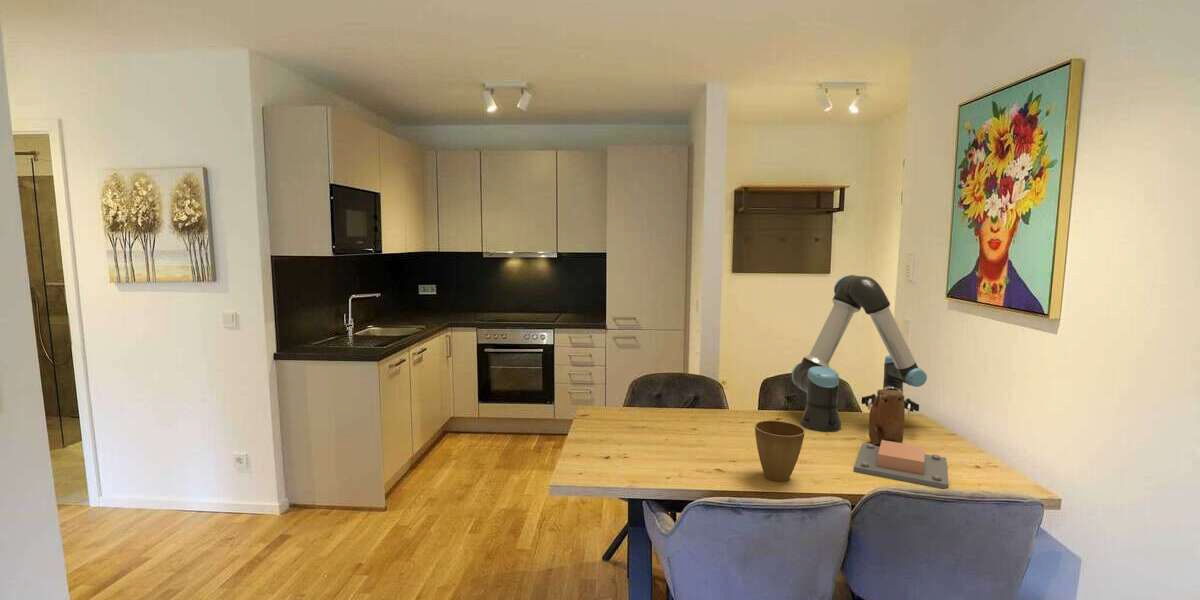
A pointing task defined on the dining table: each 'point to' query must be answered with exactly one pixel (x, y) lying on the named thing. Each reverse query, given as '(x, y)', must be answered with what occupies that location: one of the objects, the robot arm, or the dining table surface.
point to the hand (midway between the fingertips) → (888, 408)
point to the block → (887, 417)
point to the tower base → (903, 474)
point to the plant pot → (778, 448)
